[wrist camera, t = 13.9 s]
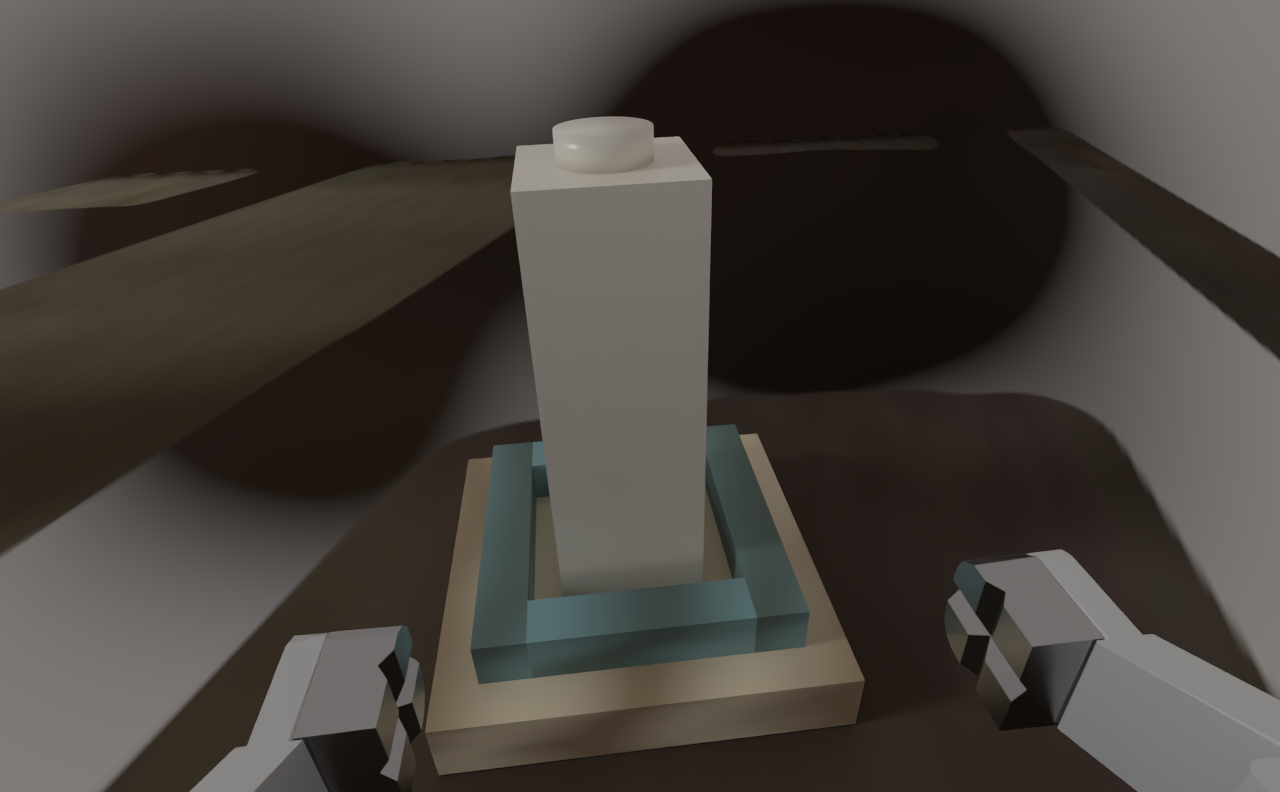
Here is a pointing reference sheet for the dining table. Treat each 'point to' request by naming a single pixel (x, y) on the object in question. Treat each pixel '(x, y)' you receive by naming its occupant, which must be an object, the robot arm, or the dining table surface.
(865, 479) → the dining table surface
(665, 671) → the birch base board
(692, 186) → the cream pillar
